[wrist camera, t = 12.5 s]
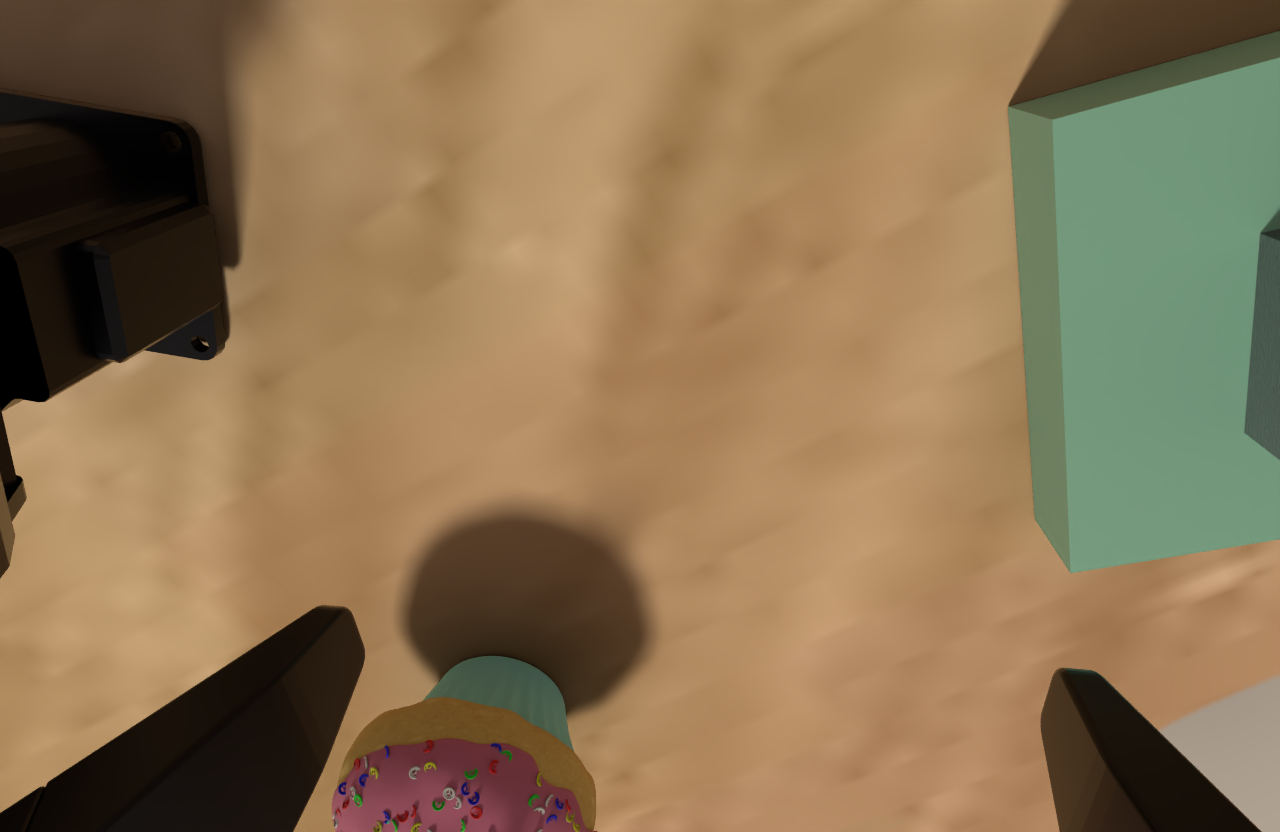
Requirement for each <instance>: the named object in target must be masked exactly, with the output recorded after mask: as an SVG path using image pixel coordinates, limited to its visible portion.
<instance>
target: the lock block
mask: <svg viewBox="0 0 1280 832" xmlns="http://www.w3.org/2000/svg"><path fill="white" fill-rule="evenodd" d="M1244 433H1245V434H1246V435H1248V436H1249V437H1250V438H1252V439H1253V440H1254V441H1255V442H1257V443H1258V444H1259V445H1261V446H1262V447H1263V448H1265V449H1266V450H1267V451H1268V452H1270V453H1271V454H1272V455H1274V456H1275V457H1276V458H1278V459H1279V460H1280V229H1276V230H1272V231H1268V232H1264V233H1260V240H1259V252H1258V265H1257V277H1256V290H1255V302H1254V315H1253V327H1252V340H1251V352H1250V365H1249V377H1248V390H1247V402H1246V415H1245V427H1244Z"/></svg>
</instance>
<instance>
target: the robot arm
mask: <svg viewBox="0 0 1280 832" xmlns="http://www.w3.org/2000/svg"><path fill="white" fill-rule="evenodd" d="M172 132H173V133H175V134H176V135H177V136H178V137H179V138H180V141H181V149H178V148H177V147H176V146H175V145H174V144H173V142H172V140H171V133H172ZM222 301H223V293H222V284H221V276H220V268H219V260H218V251H217V243H216V235H215V227H214V218H213V214H212V213H211V211H210V210H209V207H208V199H207V191H206V182H205V174H204V166H203V158H202V150H201V143H200V139H199V136H198V134H197V133H196V131H195V130H194V128H193V127H192V126H191V125H189V124H188V123H187V122H185V121H183V120H180V119H176V118H170V117H164V116H158V115H153V114H147V113H141V112H135V111H129V110H124V109H118V108H112V107H106V106H100V105H95V104H89V103H83V102H77V101H71V100H65V99H60V98H54V97H48V96H42V95H36V94H31V93H25V92H19V91H13V90H7V89H1V88H0V578H1V577H2V575H3V574H4V573H5V571H6V570H7V569H8V567H9V566H10V561H11V555H12V550H13V544H14V539H15V533H14V529H13V525H12V521H13V519H14V518H15V516H16V515H17V513H18V512H19V510H20V509H21V507H22V505H23V504H24V502H25V501H26V498H27V497H26V492H25V488H24V483H23V479H22V478H21V477H20V476H17V475H16V474H15V469H14V465H13V460H12V456H11V451H10V447H9V443H8V438H7V434H6V429H5V425H4V420H3V416H2V411H4V410H6V409H8V408H10V407H11V406H13V405H15V404H17V403H18V402H20V401H22V400H29V401H35V402H46V401H47V400H49V399H51V398H52V397H54V396H56V395H58V394H59V393H61V392H63V391H64V390H66V389H68V388H69V387H71V386H73V385H75V384H76V383H78V382H80V381H81V380H83V379H85V378H87V377H88V376H90V375H92V374H93V373H95V372H97V371H99V370H100V369H102V368H104V367H105V366H107V365H109V364H110V363H112V362H117V363H122V362H125V361H127V360H128V359H130V358H132V357H133V356H135V355H137V354H138V353H140V352H142V351H143V350H146V351H151V352H157V353H163V354H169V355H175V356H181V357H187V358H193V359H198V360H210V359H212V358H214V357H215V356H217V355H218V354H219V353H221V352H222V351H223V349H224V348H225V336H224V328H223V320H222V312H221V304H220V303H221V302H222ZM199 336H200V337H203V338H204V339H205V340H206V341H207V342H208V345H209V347H208V346H205V345H204V344H203V343H202V342H201V341H200V338H199ZM364 660H365V648H364V645H363V642H362V639H361V636H360V634H359V631H358V628H357V625H356V622H355V620H354V617H353V614H352V612H351V611H350V610H349V609H348V608H346V607H341V606H329V605H321V606H318V607H315V608H314V609H312V610H310V611H309V612H307V613H306V614H304V615H303V616H301V617H300V618H298V619H297V620H295V621H294V622H292V623H290V624H289V625H287V626H286V627H284V628H283V629H281V630H280V631H278V632H277V633H275V634H274V635H272V636H271V637H269V638H268V639H266V640H264V641H263V642H261V643H260V644H258V645H257V646H255V647H254V648H252V649H251V650H249V651H248V652H246V653H245V654H243V655H242V656H240V657H238V658H237V659H235V660H234V661H232V662H231V663H229V664H228V665H226V666H225V667H223V668H222V669H220V670H219V671H217V672H216V673H214V674H212V675H211V676H209V677H208V678H206V679H205V680H203V681H202V682H200V683H199V684H197V685H196V686H194V687H193V688H191V689H190V690H188V691H186V692H185V693H183V694H182V695H180V696H179V697H177V698H176V699H174V700H173V701H171V702H170V703H168V704H167V705H165V706H164V707H162V708H160V709H159V710H157V711H156V712H154V713H153V714H151V715H150V716H148V717H147V718H145V719H144V720H142V721H141V722H139V723H138V724H136V725H134V726H133V727H131V728H130V729H128V730H127V731H125V732H124V733H122V734H121V735H119V736H118V737H116V738H115V739H113V740H111V741H110V742H108V743H107V744H105V745H104V746H102V747H101V748H99V749H98V750H96V751H95V752H93V753H92V754H90V755H88V756H87V757H85V758H84V759H82V760H81V761H79V762H78V763H76V764H75V765H73V766H72V767H70V768H69V769H67V770H65V771H64V772H62V773H61V774H59V775H58V776H56V777H55V778H53V779H52V780H50V781H49V782H48V783H47V785H46V787H44V786H42V787H39V788H38V789H36V790H35V791H33V792H32V793H30V794H29V795H27V796H25V797H24V798H22V799H21V800H19V801H18V802H16V803H15V804H13V805H12V806H10V807H9V808H7V809H6V810H4V811H2V812H1V813H0V832H293V831H294V829H295V827H296V825H297V823H298V821H299V819H300V817H301V815H302V813H303V811H304V809H305V807H306V805H307V803H308V801H309V799H310V797H311V795H312V793H313V791H314V789H315V786H316V784H317V782H318V780H319V778H320V776H321V774H322V772H323V769H324V767H325V764H326V762H327V760H328V757H329V755H330V752H331V750H332V747H333V744H334V742H335V739H336V736H337V734H338V731H339V729H340V726H341V723H342V721H343V718H344V715H345V713H346V710H347V707H348V705H349V702H350V700H351V697H352V694H353V692H354V689H355V686H356V684H357V681H358V679H359V676H360V673H361V671H362V668H363V665H364ZM1041 734H1042V740H1043V745H1044V750H1045V756H1046V761H1047V766H1048V772H1049V777H1050V782H1051V788H1052V793H1053V798H1054V803H1055V809H1056V814H1057V819H1058V825H1059V830H1060V832H1261V831H1260V830H1259V829H1258V828H1257V827H1256V826H1255V825H1254V824H1253V823H1252V822H1251V821H1250V820H1249V819H1248V818H1247V817H1246V816H1245V815H1244V814H1243V813H1242V812H1241V811H1240V810H1239V809H1238V808H1237V807H1236V806H1235V805H1234V804H1233V803H1232V802H1231V801H1230V800H1229V799H1228V798H1226V797H1225V796H1224V794H1223V793H1221V792H1220V791H1219V790H1218V789H1217V788H1216V787H1215V786H1214V785H1213V784H1212V783H1211V782H1210V781H1209V780H1208V779H1207V778H1206V777H1205V776H1204V775H1203V774H1202V773H1201V772H1200V771H1199V770H1198V769H1197V768H1196V767H1195V766H1194V765H1193V764H1192V763H1191V762H1189V760H1188V759H1187V758H1186V757H1185V756H1184V755H1182V754H1181V752H1179V751H1178V750H1177V749H1176V748H1175V747H1174V746H1173V745H1172V744H1171V743H1170V742H1169V741H1168V740H1167V739H1166V738H1165V737H1164V736H1163V735H1162V734H1161V733H1160V732H1159V731H1158V730H1157V729H1156V728H1155V727H1154V726H1153V725H1152V724H1151V723H1150V722H1149V721H1148V720H1147V719H1146V718H1145V717H1144V716H1143V715H1142V714H1141V713H1140V712H1138V711H1137V710H1136V709H1135V708H1134V707H1133V706H1132V705H1131V704H1130V703H1129V702H1128V701H1127V700H1126V699H1125V698H1124V697H1123V696H1122V695H1121V694H1120V693H1119V692H1118V691H1117V690H1116V689H1115V688H1114V687H1113V686H1112V685H1111V684H1110V683H1109V682H1108V681H1107V680H1106V679H1105V678H1104V677H1102V676H1101V675H1100V674H1098V673H1097V672H1095V671H1092V670H1084V669H1072V668H1059V669H1057V670H1056V671H1055V673H1054V674H1053V677H1052V680H1051V683H1050V687H1049V690H1048V693H1047V697H1046V700H1045V703H1044V706H1043V710H1042V714H1041Z"/></svg>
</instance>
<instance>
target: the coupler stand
mask: <svg viewBox="0 0 1280 832" xmlns="http://www.w3.org/2000/svg"><path fill="white" fill-rule="evenodd" d="M1008 114H1009V129H1010V145H1011V160H1012V176H1013V191H1014V206H1015V222H1016V237H1017V253H1018V268H1019V283H1020V299H1021V314H1022V330H1023V345H1024V360H1025V376H1026V391H1027V407H1028V422H1029V437H1030V453H1031V468H1032V484H1033V499H1034V514H1035V520H1036V522H1037V523H1038V525H1039V526H1040V528H1041V529H1042V531H1043V532H1044V534H1045V535H1046V537H1047V538H1048V540H1049V541H1050V543H1051V544H1052V546H1053V547H1054V549H1055V550H1056V552H1057V553H1058V555H1059V556H1060V558H1061V559H1062V561H1063V562H1064V564H1065V565H1066V567H1067V569H1068V570H1069V572H1070V573H1075V572H1081V571H1087V570H1093V569H1100V568H1106V567H1112V566H1118V565H1124V564H1130V563H1137V562H1143V561H1149V560H1155V559H1161V558H1167V557H1174V556H1180V555H1186V554H1192V553H1198V552H1205V551H1211V550H1217V549H1223V548H1229V547H1235V546H1242V545H1248V544H1254V543H1260V542H1266V541H1272V540H1279V539H1280V460H1279V459H1278V458H1276V457H1275V456H1274V455H1272V454H1271V453H1270V452H1268V451H1267V450H1266V449H1265V448H1263V447H1262V446H1261V445H1259V444H1258V443H1257V442H1255V441H1254V440H1253V439H1252V438H1250V437H1249V436H1248V435H1246V434H1245V433H1244V427H1245V415H1246V402H1247V390H1248V377H1249V365H1250V352H1251V340H1252V327H1253V315H1254V302H1255V290H1256V277H1257V265H1258V252H1259V240H1260V233H1264V232H1268V231H1272V230H1276V229H1280V31H1277V32H1273V33H1269V34H1266V35H1262V36H1259V37H1255V38H1252V39H1248V40H1244V41H1241V42H1237V43H1234V44H1230V45H1227V46H1223V47H1219V48H1216V49H1212V50H1209V51H1205V52H1202V53H1198V54H1194V55H1191V56H1187V57H1184V58H1180V59H1177V60H1173V61H1170V62H1166V63H1162V64H1159V65H1155V66H1152V67H1148V68H1145V69H1141V70H1137V71H1134V72H1130V73H1127V74H1123V75H1120V76H1116V77H1112V78H1109V79H1105V80H1102V81H1098V82H1095V83H1091V84H1087V85H1084V86H1080V87H1077V88H1073V89H1070V90H1066V91H1062V92H1059V93H1055V94H1052V95H1048V96H1045V97H1041V98H1037V99H1034V100H1030V101H1027V102H1023V103H1020V104H1016V105H1012V106H1009V107H1008Z"/></svg>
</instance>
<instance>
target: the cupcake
mask: <svg viewBox="0 0 1280 832" xmlns="http://www.w3.org/2000/svg"><path fill="white" fill-rule="evenodd" d="M332 817H333V822H334V827H335V831H336V832H597V831H593V830H594V825H595V818H596V790H595V784H594V781H593V778H592V776H591V775H590V774H589V773H588V771H587V770H586V769H585V767H584V765H583V764H582V762H581V760H580V759H579V758H578V756H577V755H576V754H575V752H574V750H573V747H572V744H571V740H570V736H569V731H568V725H567V718H566V710H565V704H564V700H563V697H562V694H561V692H560V690H559V689H558V687H557V686H556V684H555V683H554V682H553V681H552V680H551V679H550V678H549V677H548V676H547V675H546V674H545V673H543V672H542V671H540V670H539V669H537V668H536V667H534V666H532V665H530V664H528V663H525V662H523V661H520V660H517V659H513V658H509V657H502V656H481V657H475V658H471V659H468V660H465V661H463V662H461V663H459V664H457V665H455V666H454V667H453V668H451V669H450V670H449V671H448V672H447V673H446V674H445V675H444V676H443V678H442V679H441V680H440V681H439V683H438V684H437V685H436V686H435V687H434V688H433V690H432V691H431V692H430V693H429V694H428V695H427V696H426V698H425V699H424V700H423V701H422V702H419V703H417V704H414V705H411V706H407V707H403V708H399V709H394V710H390V711H387V712H384V713H382V714H381V715H379V716H378V717H376V718H375V719H374V720H373V721H372V722H370V723H369V724H368V725H367V726H366V727H365V728H364V729H363V730H362V732H361V733H360V734H359V736H358V737H357V738H356V740H355V742H354V743H353V745H352V746H351V748H350V750H349V751H348V753H347V755H346V757H345V760H344V762H343V765H342V768H341V772H340V776H339V780H338V785H337V789H336V790H335V792H334V795H333V800H332Z"/></svg>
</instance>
